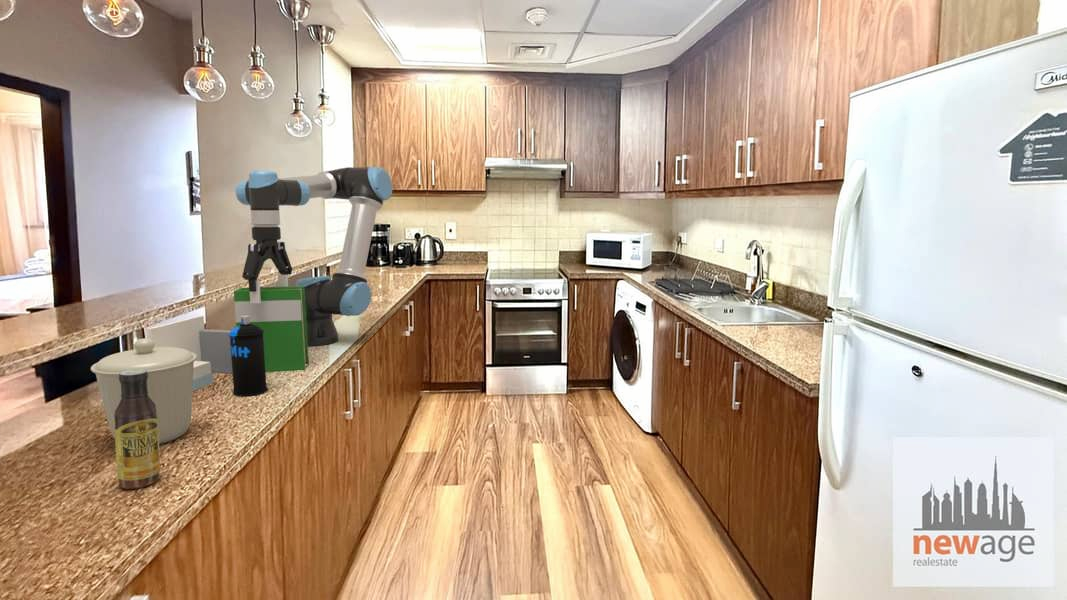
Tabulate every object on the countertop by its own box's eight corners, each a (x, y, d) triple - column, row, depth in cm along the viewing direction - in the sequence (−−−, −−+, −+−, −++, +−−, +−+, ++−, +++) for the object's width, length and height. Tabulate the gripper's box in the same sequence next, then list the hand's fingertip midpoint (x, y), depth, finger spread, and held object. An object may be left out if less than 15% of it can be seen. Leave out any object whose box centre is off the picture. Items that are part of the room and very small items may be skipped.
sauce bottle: (124, 494, 99) (111, 379, 96) (114, 483, 103) (101, 372, 100) (168, 481, 103) (157, 371, 100) (156, 471, 108) (146, 365, 104)
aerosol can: (257, 385, 159) (251, 312, 156) (274, 390, 155) (269, 315, 151) (226, 392, 153) (220, 316, 150) (243, 398, 148) (237, 320, 145)
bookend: (208, 369, 175) (205, 329, 173) (241, 371, 173) (238, 330, 171) (202, 371, 172) (199, 331, 170) (236, 373, 170) (233, 332, 168)
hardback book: (308, 364, 181) (304, 286, 177) (304, 370, 174) (300, 289, 170) (246, 366, 178) (240, 287, 174) (239, 373, 170) (233, 291, 167)
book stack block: (178, 380, 163) (176, 359, 162) (213, 382, 161) (211, 361, 160) (154, 389, 155) (151, 367, 154) (190, 392, 153) (188, 369, 152)
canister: (222, 426, 130) (215, 331, 126) (152, 459, 112) (142, 351, 109) (154, 419, 134) (145, 327, 130) (76, 450, 116) (63, 346, 113)
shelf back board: (204, 369, 175) (199, 315, 172) (207, 369, 175) (203, 315, 172) (152, 388, 156) (147, 328, 154) (156, 388, 156) (151, 328, 154)
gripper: (279, 225, 182) (283, 293, 185) (224, 227, 158) (229, 305, 161) (302, 225, 181) (305, 294, 184) (249, 227, 156) (254, 306, 160)
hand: (270, 299), depth 172 cm, fingers open, 13 cm apart
